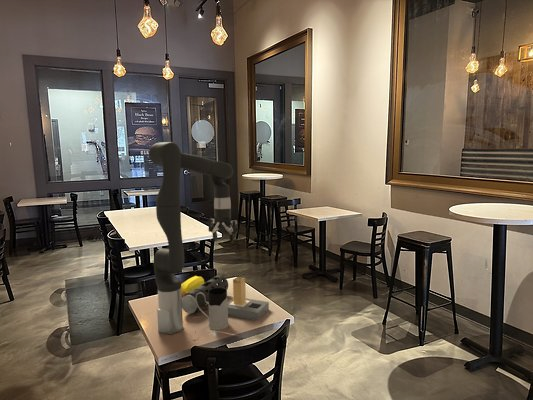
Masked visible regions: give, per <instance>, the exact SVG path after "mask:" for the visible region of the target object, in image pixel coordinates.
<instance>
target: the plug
mask: <svg viewBox="0 0 533 400" xmlns="http://www.w3.org/2000/svg"><path fill="white" fill-rule="evenodd" d="M232 289H233V290H232V292H233V293H232V294H233V297H232V298H233V300H234V304H240V305H242V304H243V303H244V302H246V298H247V296H246V293H247V292H246V277H241V276H236V277H234V278H233V279H232Z"/></svg>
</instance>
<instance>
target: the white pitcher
mask: <svg viewBox="0 0 533 400" xmlns="http://www.w3.org/2000/svg"><path fill="white" fill-rule="evenodd" d="M198 294H202V295H203V296H204V298H205V302H206V296H205V295H204V294H203V293H201V292H200V293H198ZM195 299H196V304H197V307H198V308H199V310H200V312H201V313H202V314H203V315H204V316H205V317H206V318H207V319H208V327H209V330H211V331H213V332H214V331H215V332H218V331H220V330H223V329H226V328H228V327H229V325H230V323H229V315H228V304H229V302H228V300H229V299H228V289H227V290H226V289H224V288H214V289H211V290H209V302H206V303H207V305H208V314H206V313H205V312H204V311H203V310H202V309H200V307H199V305H198V303H197V294H196V298H195Z"/></svg>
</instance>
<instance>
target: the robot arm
mask: <svg viewBox="0 0 533 400" xmlns="http://www.w3.org/2000/svg"><path fill="white" fill-rule="evenodd" d="M148 157H149V160H150V161H151V163H152V164H154V165H156V166H158V167H162V182H161V185H160V188H159V190H158V193H157V195H156V200H155V211H156V218H157V222H158V224H159V225H160V227H161V229H162V230H163V233H164V234H165V237H166V238H167V239H166V240H167V243H168V248H159V249H157V251H156V252H155V254H154V257H153V271H154V280H155V285H156V286H157V299H158V308H157V310H156V311H157V312H156V315H157V329H158V330H157V331H158V332H159V333H162V334H165V335H166V334H167V335H172V334H175V333H177V332H180V331H181V330H183V328H184V321H183V319H184V317H183V308H182V298H183V296H182V292H181V284H182V281H181V279H180V278H179V277H177V276H175V275H174V274H179V273H181V272H182V270H183V269H184V266H185V251H184V250H185V249H184V244H183V236H182V235H183V234H182V219H181V218H182V216H181V214H182V213H181V210H182V209H181V207H182V206H181V189H180V187H181V185H180V183H181V181H180V180H181V179H180V178H181V177H180V176H181V169H184V170H186V171H187V170H188V171H191V172H194V173H198V174H201V175H205V176H210V178H211V183H212V186H213V190H214V201H213V210H214V214H213V215H214V218H212V217H211V218H209V219H208V232H209V233H210V232H211V234H212V240H213V242H217V241H218V231H219V230H226V231H227V232H228V234H229V243H230V244H233V243H234V242H235V235H236V234H238V233H239V226H238V225H239V224H238V220H237V219H235V220H232V203H231V202H232V201H231V187H230V185H229V184H227V183H225V181H224V180H228V179H230V178H231V177H232V176H233V174H234V169H233V167H232V165H231V164H230V163H227V162H223V161H218V160H213V159H210V158H208V157H204V156H200V155H196V154H189V153H184V152H181V150H180V147H179V145H178V144H177V143H175V142H172V141H165V142H164V141H163V142H162V141H161V142H160V141H159V142H156V143H154V144H152V145H151V146H150V147H149V149H148ZM214 225H215V226H214Z"/></svg>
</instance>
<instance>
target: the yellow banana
mask: <svg viewBox="0 0 533 400" xmlns="http://www.w3.org/2000/svg"><path fill="white" fill-rule="evenodd" d="M204 283H205V279H204V278H203V277H202V276H197V275H194V276H192V277H190V278H188V279H187V280H185V281H183V282H181V292H182V297H183V296H184V295H185V294H186V293H188V292H189V291H191V290H194V289H196V288H197V287H199V286H201V285H202V284H204Z"/></svg>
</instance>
